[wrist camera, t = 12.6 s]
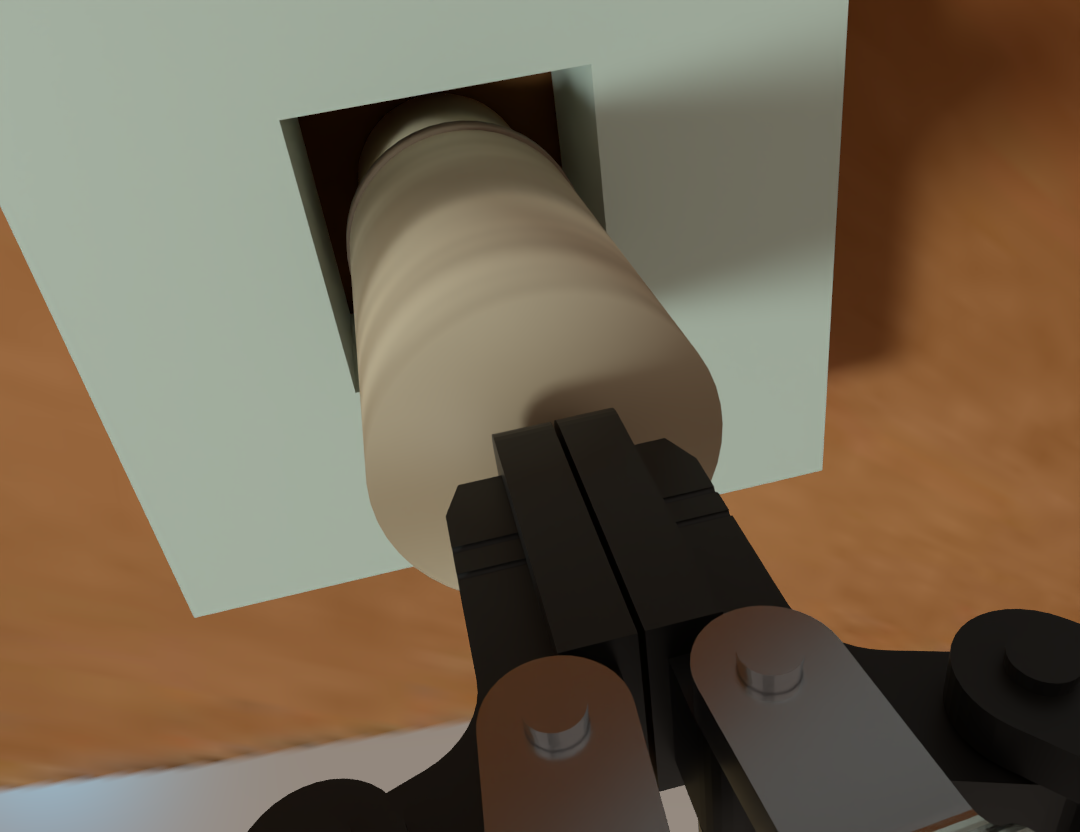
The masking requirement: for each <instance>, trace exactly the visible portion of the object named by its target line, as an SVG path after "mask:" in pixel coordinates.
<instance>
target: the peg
mask: <svg viewBox="0 0 1080 832" xmlns="http://www.w3.org/2000/svg"><path fill="white" fill-rule="evenodd" d="M346 242H347V259H348V264H349V269H350V274H351V278H352V292H353V306H354V319H355V333H356V347H357V361H358V375H359V389H360V403H361V416H362V430H363V444H364V458H365V472H366V485H367V489H368V494H369V499H370V504H371V506H372V509H373V512H374V514H375V517H376V520H377V522H378V524H379V525H380V527H381V529H382V531H383V532H384V534H385V536H386V537H387V539H388V540H389V541H390V543H391V544H392V545H393V546H394V548H395V549H396V550H397V551H398V553H399V554H400V555H402V556H403V557H404V558H405V559H406V560H407V561H408V562H409V563H410V564H411V565H413V566H414V567H415V568H417V569H418V570H420V571H421V572H423V573H424V574H425V575H427V576H428V577H430V578H432V579H434V580H436V581H438V582H440V583H442V584H444V585H446V586H448V587H451V588H454V589H456V590H459V585H458V579H457V574H456V569H455V564H454V558H453V552H452V548H451V542H450V537H449V532H448V527H447V521H446V514H447V511H448V509H449V506H450V504H451V501H452V499H453V496H454V494H455V491H456V489H457V486H458V485H460V484H465V483H469V482H474V481H478V480H482V479H487V478H491V477H496V476H499V475H498V470H497V465H496V460H495V454H494V449H493V443H492V434H496V433H501V432H505V431H510V430H514V429H519V428H523V427H528V426H532V425H537V424H541V423H546V422H551V423H552V425H553V427H554V420H558V419H563V418H567V417H572V416H576V415H581V414H585V413H590V412H594V411H599V410H603V409H608V408H614V409H615V410H616V412H617V413H618V415H619V417H620V419H621V421H622V423H623V424H624V426H625V428H626V430H627V432H628V434H629V436H630V438H631V439H632V441H633V443H634V445H636V444H640V443H644V442H649V441H653V440H658V439H662V438H666V439H667V440H669V441H670V442H672V443H674V444H675V445H677V446H678V447H680V448H681V449H683V450H685V451H686V452H688V453H689V454H691V455H692V456H694V457H695V458H697V460H698V461H699V463H700V465H701V466H702V468H703V469H704V471H705V473H706V474H707V476H708V477H709V479H710V481H711V480H712V477H713V475H714V472H715V469H716V466H717V463H718V459H719V454H720V449H721V444H722V428H723V422H722V411H721V403H720V399H719V396H718V392H717V388H716V385H715V383H714V380H713V378H712V376H711V374H710V371H709V369H708V367H707V366H706V364H705V363H704V361H703V360H702V358H701V357H700V355H699V353H698V352H697V351H696V349H695V348H694V347H693V345H692V344H691V343H690V341H689V340H688V339H687V337H686V336H685V335H684V333H683V332H682V331H681V330H680V328H679V327H678V326H677V324H676V323H675V322H674V320H673V319H672V318H671V316H670V315H669V314H668V312H667V311H666V310H665V309H664V307H663V306H662V305H661V303H660V302H659V301H658V299H657V298H656V297H655V295H654V294H653V293H652V291H651V290H650V289H649V288H648V286H647V285H646V284H645V282H644V281H643V280H642V278H641V277H640V276H639V274H638V273H637V272H636V270H635V269H634V268H633V267H632V265H631V264H630V263H629V261H628V260H627V259H626V257H625V256H624V255H623V253H622V252H621V251H620V249H619V248H618V247H617V246H616V244H615V243H614V242H613V240H612V239H611V238H610V236H609V235H608V234H607V232H606V231H605V230H604V228H603V227H602V226H601V225H600V223H599V222H598V221H597V219H596V218H595V217H594V215H593V214H592V213H591V211H590V210H589V209H588V207H587V206H586V205H585V204H584V202H583V201H582V200H581V198H580V197H579V196H578V194H577V193H576V192H575V190H574V188H573V186H572V184H571V182H570V181H569V179H568V178H567V176H566V175H565V173H564V172H563V170H562V169H561V168H560V166H559V165H558V164H557V163H556V162H555V160H554V159H553V158H552V157H551V156H550V155H549V154H548V153H547V152H546V151H545V150H544V149H543V148H541V147H540V146H539V145H538V144H537V143H536V142H534V141H532V140H531V139H529V138H528V137H526V136H525V135H523V134H521V133H519V132H516V131H514V130H512V129H511V128H510V127H509V125H508V124H507V123H506V122H505V121H504V120H503V119H502V118H501V117H500V116H499V115H498V114H497V113H496V112H494V111H493V110H492V109H490V108H489V107H487V106H486V105H484V104H482V103H480V102H478V101H476V100H474V99H471V98H468V97H465V96H461V95H455V94H443V93H438V94H429V95H424V96H420V97H416V98H413V99H411V100H408V101H406V102H404V103H402V104H400V105H399V106H397V107H395V108H394V109H393V110H391V111H390V112H389V113H387V114H386V115H385V116H384V117H383V118H382V119H381V120H380V121H379V122H378V123H377V125H376V126H375V127H374V129H373V130H372V131H371V133H370V135H369V136H368V138H367V140H366V142H365V144H364V147H363V149H362V152H361V156H360V160H359V165H358V188H357V190H356V192H355V195H354V197H353V200H352V202H351V206H350V210H349V214H348V219H347V230H346ZM459 591H460V590H459Z"/></svg>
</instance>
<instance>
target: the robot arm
mask: <svg viewBox="0 0 1080 832" xmlns="http://www.w3.org/2000/svg"><path fill="white" fill-rule="evenodd" d="M492 443H493V449H494V454H495V460H496V465H497V470H498V475H499V476H496V477H491V478H487V479H482V480H478V481H474V482H469V483H465V484H460V485H458V486H457V489H456V491H455V494H454V496H453V499H452V501H451V504H450V506H449V509H448V511H447V514H446V521H447V527H448V532H449V537H450V542H451V548H452V552H453V558H454V564H455V569H456V574H457V579H458V585H459V590H460V595H461V600H462V606H463V611H464V616H465V621H466V627H467V632H468V637H469V642H470V648H471V653H472V658H473V663H474V669H475V674H476V679H477V689H478V695H477V704H476V708H475V711H474V715H473V718H472V720H471V722H470V724H469V726H468V728H467V730H466V731H465V733H464V734H463V736H462V737H461V739H460V740H459V741H458V742H457V744H456V745H455V746H454V747H453V748H452V750H451V751H449V752H448V753H447V754H446V755H445V756H444V757H443V758H441V759H440V760H439V761H438V762H437V763H436V764H434V765H432V766H431V767H429V768H428V769H426V770H425V771H423V772H422V773H420V774H418V775H416V776H415V777H413V778H411V779H410V780H408V781H406V782H404V783H403V784H401V785H399V786H398V787H396V788H394V789H393V790H391V791H389V792H388V793H385V792H384V791H383V790H382V789H380V788H377V787H376V786H374V785H372V784H370V783H366V782H363V781H359V780H353V779H330V780H325V781H321V782H316V783H313V784H311V785H308V786H305V787H302V788H300V789H298V790H296V791H294V792H292V793H290V794H288V795H287V796H286V797H284V798H282V799H281V800H280V801H278V802H277V803H275V804H274V805H273V806H272V807H270V809H268V810H267V811H266V812H265V813H264V814H263V815H262V816H261V817H260V818H259V819H258V820H257V821H256V822H255V824H254V825H253V826H252V827H251V828H250V829H249V831H248V832H670V830H669V826H668V823H667V819H666V815H665V811H664V808H663V804H662V801H661V797H660V793H659V791H664V790H667V789H671V788H675V787H678V786H682V785H685V786H686V789H687V792H688V795H689V797H690V800H691V802H692V805H693V807H694V810H695V812H696V815H697V817H698V829H699V832H1080V624H1079V623H1076V622H1074V621H1071V620H1068V619H1065V618H1062V617H1059V616H1056V615H1053V614H1049V613H1044V612H1040V611H1035V610H1024V609H1004V610H998V611H992V612H988V613H985V614H982V615H979V616H977V617H975V618H973V619H971V620H970V621H968V622H967V623H966V624H965V625H963V626H962V627H961V628H960V630H959V631H958V632H957V633H956V635H955V637H954V639H953V642H952V644H951V649H950V652H936V651H891V650H875V649H867V648H861V647H856V646H852V645H849V644H846V643H842V641H841V640H840V639H839V638H838V637H837V636H836V635H835V634H834V633H833V631H832V630H830V629H829V628H828V627H826V626H825V625H824V624H823V623H821V622H819V621H818V620H816V619H814V618H813V617H811V616H808V615H806V614H804V613H801V612H799V611H795V610H792V609H791V608H790V606H789V605H788V604H787V602H786V601H785V599H784V597H783V596H782V594H781V593H780V591H779V589H778V588H777V586H776V585H775V583H774V581H773V580H772V578H771V577H770V575H769V573H768V572H767V570H766V569H765V567H764V565H763V564H762V562H761V561H760V559H759V557H758V556H757V554H756V553H755V551H754V549H753V548H752V546H751V545H750V543H749V541H748V540H747V538H746V537H745V535H744V533H743V532H742V530H741V529H740V527H739V525H738V524H737V522H736V521H735V519H734V517H733V516H730V514H729V509H728V508H727V506H726V505H725V503H724V501H723V500H722V498H721V497H720V495H719V493H718V492H715V489H714V485H713V484H712V482H711V481H710V479H709V477H708V476H707V474H706V473H705V471H704V469H703V468H702V466H701V465H700V463H699V461H698V460H697V458H695V457H694V456H692V455H691V454H689V453H688V452H686V451H685V450H683V449H681V448H680V447H678V446H677V445H675V444H674V443H672V442H670V441H669V440H667V439H666V438H662V439H658V440H653V441H649V442H644V443H640V444H636V445H634V443H633V441H632V439H631V438H630V436H629V434H628V432H627V430H626V428H625V426H624V424H623V423H622V421H621V419H620V417H619V415H618V413H617V412H616V410H615V409H614V408H608V409H603V410H599V411H594V412H590V413H585V414H581V415H576V416H572V417H567V418H563V419H558V420H554V427H553V425H552V423H551V422H546V423H541V424H537V425H532V426H528V427H523V428H519V429H514V430H510V431H505V432H501V433H496V434H492Z"/></svg>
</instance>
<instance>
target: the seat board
mask: <svg viewBox="0 0 1080 832" xmlns="http://www.w3.org/2000/svg"><path fill="white" fill-rule="evenodd" d="M848 3H849V0H0V206H1V208H2V210H3V212H4V215H5V217H6V219H7V221H8V223H9V225H10V227H11V229H12V232H13V234H14V236H15V238H16V240H17V242H18V244H19V246H20V249H21V251H22V253H23V255H24V257H25V259H26V261H27V263H28V266H29V268H30V270H31V272H32V274H33V276H34V278H35V280H36V283H37V285H38V287H39V289H40V291H41V293H42V295H43V297H44V299H45V302H46V304H47V306H48V308H49V310H50V312H51V314H52V316H53V319H54V321H55V323H56V325H57V327H58V329H59V331H60V333H61V336H62V338H63V340H64V342H65V344H66V346H67V348H68V350H69V353H70V355H71V357H72V359H73V361H74V363H75V365H76V367H77V370H78V372H79V374H80V376H81V378H82V380H83V382H84V384H85V387H86V389H87V391H88V393H89V395H90V397H91V399H92V401H93V404H94V406H95V408H96V410H97V412H98V414H99V416H100V418H101V421H102V423H103V425H104V427H105V429H106V431H107V433H108V435H109V438H110V440H111V442H112V444H113V446H114V448H115V450H116V452H117V454H118V457H119V459H120V461H121V463H122V465H123V467H124V469H125V471H126V474H127V476H128V478H129V480H130V482H131V484H132V486H133V488H134V491H135V493H136V495H137V497H138V499H139V501H140V503H141V505H142V508H143V510H144V512H145V514H146V516H147V518H148V520H149V522H150V525H151V527H152V529H153V531H154V533H155V535H156V537H157V539H158V542H159V544H160V546H161V548H162V550H163V552H164V554H165V556H166V559H167V561H168V563H169V565H170V567H171V569H172V571H173V573H174V576H175V578H176V580H177V582H178V584H179V586H180V588H181V590H182V593H183V595H184V597H185V599H186V601H187V603H188V605H189V607H190V610H191V612H192V614H193V616H194V618H196V617H200V616H204V615H208V614H213V613H217V612H221V611H225V610H230V609H234V608H238V607H242V606H247V605H251V604H255V603H259V602H264V601H268V600H272V599H276V598H281V597H285V596H289V595H293V594H298V593H302V592H306V591H310V590H315V589H319V588H323V587H327V586H332V585H336V584H340V583H344V582H349V581H353V580H357V579H362V578H366V577H370V576H374V575H379V574H383V573H387V572H391V571H396V570H400V569H404V568H408V567H413V565H411V564H410V563H409V562H408V561H407V560H406V559H405V558H404V557H403V556H402V555H400V554H399V553H398V551H397V550H396V549H395V548H394V546H393V545H392V544H391V543H390V541H389V540H388V539H387V537H386V536H385V534H384V532H383V531H382V529H381V527H380V525H379V524H378V522H377V520H376V517H375V514H374V512H373V509H372V506H371V504H370V499H369V494H368V489H367V485H366V472H365V458H364V444H363V430H362V416H361V403H360V389H359V375H358V361H357V347H356V333H355V319H354V314H350V311H349V307H348V304H347V300H346V296H345V292H344V289H343V285H342V281H341V278H340V274H339V270H338V266H337V263H336V259H335V255H334V252H333V248H332V244H331V240H330V237H329V233H328V229H327V225H326V222H325V218H324V214H323V211H322V207H321V203H320V199H319V196H318V192H317V188H316V185H315V181H314V177H313V173H312V170H311V166H310V162H309V159H308V155H307V151H306V147H305V144H304V140H303V136H302V132H301V129H300V125H299V121H298V118H297V117H300V116H306V115H311V114H317V113H323V112H328V111H334V110H339V109H345V108H350V107H356V106H361V105H367V104H372V103H378V102H384V101H389V100H395V99H400V98H406V97H411V96H417V95H422V94H428V93H433V92H439V91H445V90H450V89H456V88H461V87H467V86H472V85H478V84H483V83H489V82H494V81H500V80H506V79H511V78H517V77H522V76H528V75H533V74H539V73H544V72H550V71H551V75H552V83H553V92H554V101H555V110H556V118H557V127H558V136H559V145H560V153H561V162H562V170H563V172H564V173H565V175H566V176H567V178H568V179H569V181H570V182H571V184H572V186H573V188H574V190H575V192H576V193H577V194H578V196H579V197H580V198H581V200H582V201H583V202H584V204H585V205H586V206H587V207H588V209H589V210H590V211H591V213H592V214H593V215H594V217H595V218H596V219H597V221H598V222H599V223H600V225H601V226H602V227H603V228H604V230H605V231H606V232H607V234H608V235H609V236H610V238H611V239H612V240H613V242H614V243H615V244H616V246H617V247H618V248H619V249H620V251H621V252H622V253H623V255H624V256H625V257H626V259H627V260H628V261H629V263H630V264H631V265H632V267H633V268H634V269H635V270H636V272H637V273H638V274H639V276H640V277H641V278H642V280H643V281H644V282H645V284H646V285H647V286H648V288H649V289H650V290H651V291H652V293H653V294H654V295H655V297H656V298H657V299H658V301H659V302H660V303H661V305H662V306H663V307H664V309H665V310H666V311H667V312H668V314H669V315H670V316H671V318H672V319H673V320H674V322H675V323H676V324H677V326H678V327H679V328H680V330H681V331H682V332H683V333H684V335H685V336H686V337H687V339H688V340H689V341H690V343H691V344H692V345H693V347H694V348H695V349H696V351H697V352H698V353H699V355H700V357H701V358H702V360H703V361H704V363H705V364H706V366H707V367H708V369H709V371H710V374H711V376H712V378H713V380H714V383H715V385H716V388H717V392H718V396H719V399H720V403H721V411H722V422H723V428H722V444H721V449H720V454H719V459H718V463H717V466H716V469H715V472H714V475H713V477H712V480H711V482H712V484H713V485H714V489H715V492H718V493H719V494H723V493H727V492H732V491H736V490H740V489H745V488H749V487H753V486H757V485H762V484H766V483H770V482H774V481H779V480H783V479H787V478H791V477H796V476H800V475H804V474H808V473H813V472H817V471H821V470H822V465H823V447H824V429H825V411H826V394H827V376H828V358H829V340H830V322H831V305H832V287H833V269H834V251H835V234H836V216H837V198H838V180H839V163H840V145H841V127H842V109H843V91H844V74H845V56H846V38H847V20H848Z"/></svg>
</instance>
